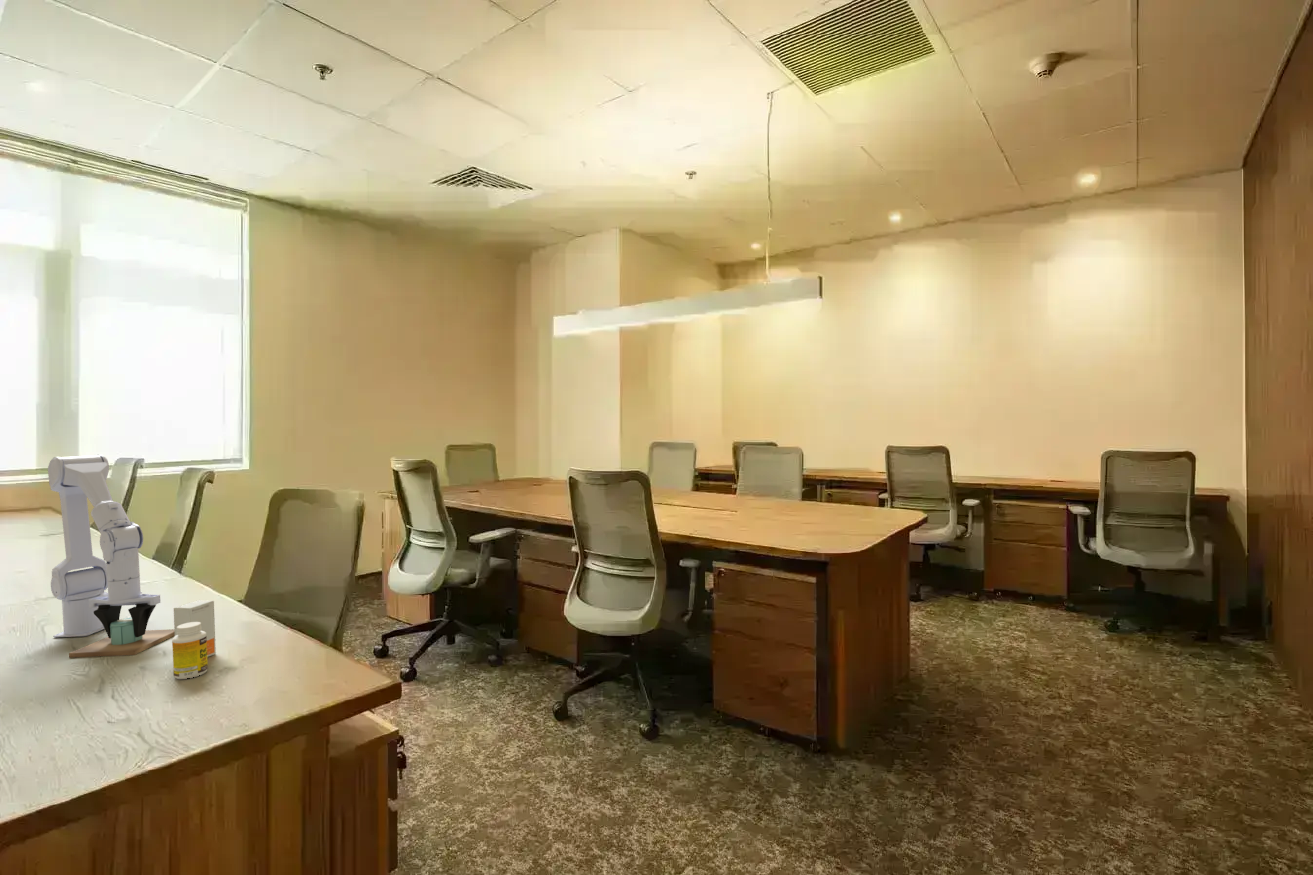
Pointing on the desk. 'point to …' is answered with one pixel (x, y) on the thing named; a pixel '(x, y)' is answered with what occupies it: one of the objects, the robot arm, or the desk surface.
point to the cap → (123, 632)
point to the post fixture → (123, 645)
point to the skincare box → (198, 620)
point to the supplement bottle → (189, 651)
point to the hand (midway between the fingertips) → (126, 636)
